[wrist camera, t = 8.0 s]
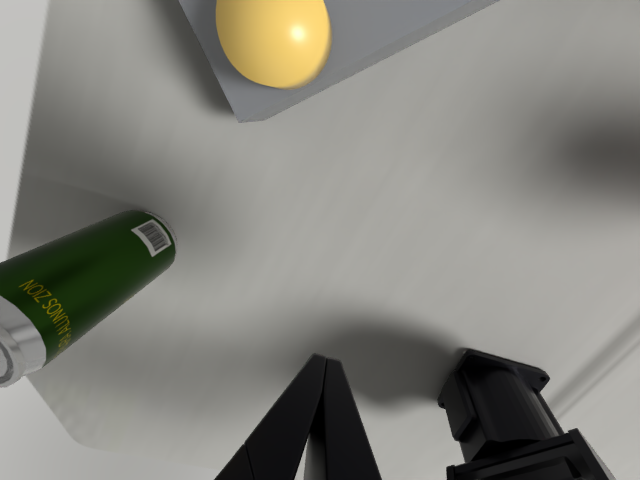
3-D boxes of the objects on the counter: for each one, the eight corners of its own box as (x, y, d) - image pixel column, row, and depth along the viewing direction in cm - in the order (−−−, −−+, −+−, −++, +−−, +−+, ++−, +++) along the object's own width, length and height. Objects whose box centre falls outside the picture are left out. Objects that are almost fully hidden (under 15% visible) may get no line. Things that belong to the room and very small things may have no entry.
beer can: (142, 193, 22) (-75, 272, 11) (194, 245, 23) (43, 363, 13) (106, 232, 24) (-108, 332, 13) (156, 279, 25) (-3, 405, 14)
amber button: (347, 15, 15) (336, -37, 10) (329, 101, 17) (311, 97, 11) (271, -3, 15) (220, -64, 10) (261, 84, 17) (211, 71, 11)
